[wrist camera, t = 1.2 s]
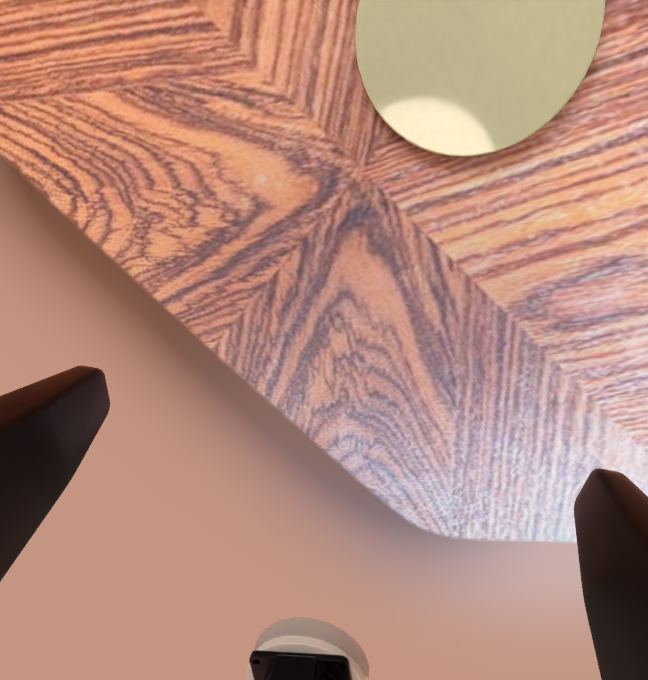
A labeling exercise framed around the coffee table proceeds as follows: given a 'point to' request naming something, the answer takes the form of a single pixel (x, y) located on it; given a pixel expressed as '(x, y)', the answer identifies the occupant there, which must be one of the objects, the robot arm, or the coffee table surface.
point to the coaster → (473, 67)
